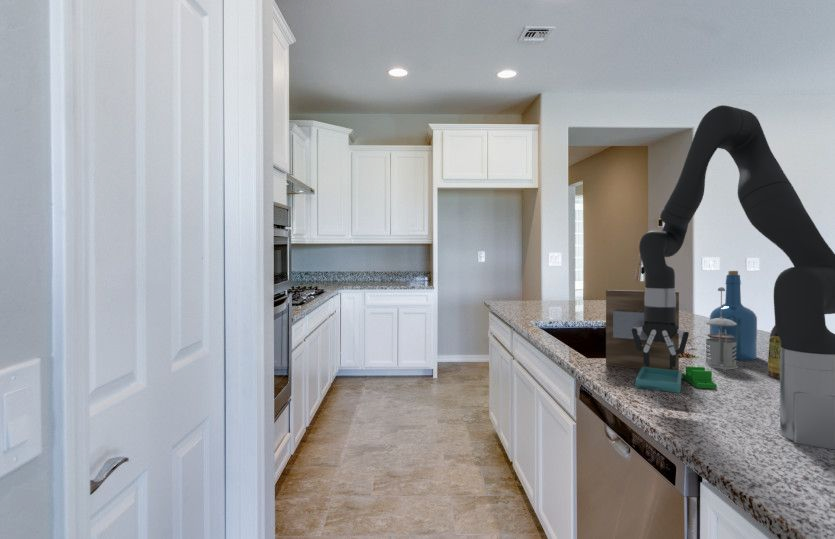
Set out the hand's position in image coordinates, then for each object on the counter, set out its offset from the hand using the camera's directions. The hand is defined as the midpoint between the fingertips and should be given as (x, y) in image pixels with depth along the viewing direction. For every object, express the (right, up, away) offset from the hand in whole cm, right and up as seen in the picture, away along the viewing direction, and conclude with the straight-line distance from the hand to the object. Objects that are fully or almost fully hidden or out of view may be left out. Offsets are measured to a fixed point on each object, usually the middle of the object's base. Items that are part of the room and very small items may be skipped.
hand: (659, 366), depth 119 cm
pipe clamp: (+14, -1, +1) cm, 15 cm away
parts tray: (0, -4, 0) cm, 4 cm away
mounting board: (+4, -4, +17) cm, 18 cm away
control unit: (+1, +6, +13) cm, 15 cm away
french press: (+29, -4, +18) cm, 35 cm away
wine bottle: (+42, -4, +30) cm, 52 cm away
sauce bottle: (+37, -4, +5) cm, 38 cm away
